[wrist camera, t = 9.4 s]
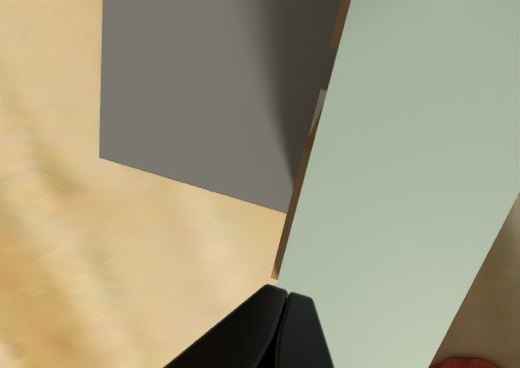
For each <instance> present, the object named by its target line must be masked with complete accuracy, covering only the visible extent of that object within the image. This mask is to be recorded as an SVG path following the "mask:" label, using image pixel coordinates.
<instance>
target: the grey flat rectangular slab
mask: <svg viewBox="0 0 520 368" xmlns="http://www.w3.org/2000/svg"><path fill="white" fill-rule="evenodd" d="M340 2H341V0H103V24H102V66H101V109H100V152H99V158H102V159H106V160H109V161H112V162H116V163H119V164H122V165H126V166H129V167H132V168H136V169H139V170H142V171H146V172H149V173H152V174H156V175H159V176H162V177H166V178H169V179H172V180H176V181H179V182H182V183H186V184H189V185H192V186H196V187H199V188H203V189H206V190H209V191H213V192H216V193H219V194H223V195H226V196H229V197H233V198H236V199H239V200H243V201H246V202H249V203H253V204H256V205H259V206H263V207H266V208H269V209H273V210H276V211H279V212H283V213H286V214H287V212H288V208H289V204H290V200H291V196H292V192H293V188H294V184H295V180H296V176H297V172H298V168H299V164H300V160H301V156H302V152H303V148H304V146H305V144H306V142H307V140H308V137H309V135H310V133H311V131H312V129H313V127H314V125H315V122H316V120H317V118H318V116H319V114H320V112H321V109H322V107H323V105H324V101H325V98H326V94H327V90H328V86H329V82H330V78H331V75H332V71H333V67H334V63H335V59H336V56H337V52H338V49H336V48H331V47H329V45H330V41H331V37H332V33H333V29H334V26H335V22H336V18H337V14H338V10H339V6H340Z"/></svg>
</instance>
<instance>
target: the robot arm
mask: <svg viewBox="0 0 520 368" xmlns="http://www.w3.org/2000/svg"><path fill="white" fill-rule="evenodd" d="M287 297H288V298H287ZM163 368H334V364H333V361H332V358H331V355H330V352H329V348H328V345H327V342H326V339H325V336H324V332H323V329H322V326H321V323H320V319H319V316H318V313H317V310H316V307H315V303H314V301H313V299H312V298H311V297H309V296H306V295H302V294H299V293H296V292H290V293H289V295H288V291H287V290H285V289H283V288H279V287H276V286H273V285H269V284H267V285H264V286H263V287H262V288H260V289H259V290H258V291H257V292H255V293H254V294H253V295H252V296H251V297H249V298H248V299H247V300H246V301H244V302H243V303H242V304H241V305H239V306H238V307H237V308H236V309H235V310H233V311H232V312H231V313H230V314H228V315H227V316H226V317H225V318H224V319H222V320H221V321H220V322H219V323H217V324H216V325H215V326H214V327H212V328H211V329H210V330H209V331H208V332H206V333H205V334H204V335H203V336H201V337H200V338H199V339H198V340H196V341H195V342H194V343H193V344H192V345H190V346H189V347H188V348H187V349H185V350H184V351H183V352H182V353H181V354H179V355H178V356H177V357H176V358H174V359H173V360H172V361H171V362H169V363H168V364H167V365H166V366H165V367H163Z"/></svg>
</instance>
